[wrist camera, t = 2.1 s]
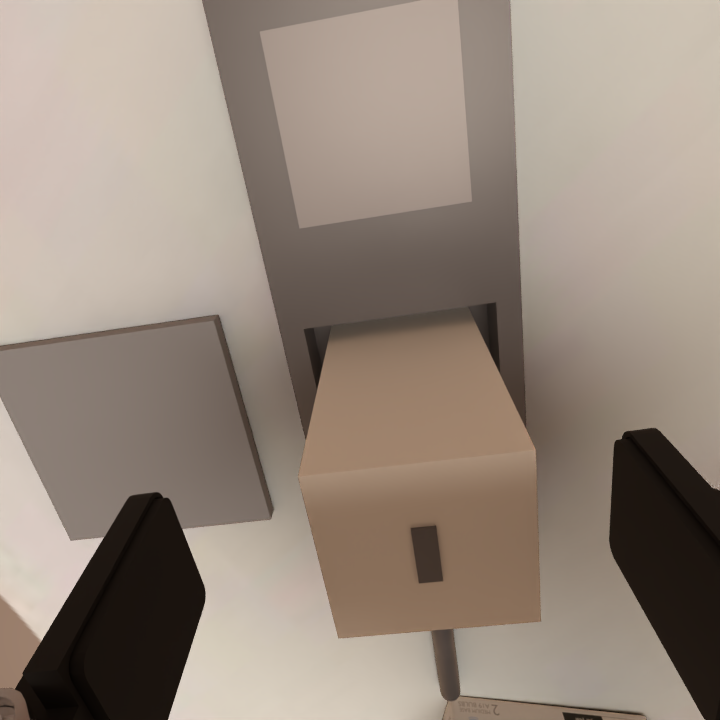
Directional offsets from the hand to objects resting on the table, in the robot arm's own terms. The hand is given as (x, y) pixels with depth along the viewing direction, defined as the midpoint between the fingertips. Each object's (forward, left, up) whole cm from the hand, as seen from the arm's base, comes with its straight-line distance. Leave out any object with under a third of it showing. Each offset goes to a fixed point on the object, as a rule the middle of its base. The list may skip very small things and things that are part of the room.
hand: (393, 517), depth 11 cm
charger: (0, -1, -7) cm, 7 cm away
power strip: (-3, -1, -9) cm, 10 cm away
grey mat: (-2, +10, -9) cm, 14 cm away
